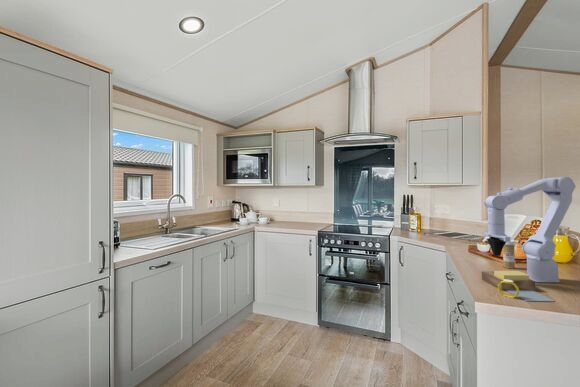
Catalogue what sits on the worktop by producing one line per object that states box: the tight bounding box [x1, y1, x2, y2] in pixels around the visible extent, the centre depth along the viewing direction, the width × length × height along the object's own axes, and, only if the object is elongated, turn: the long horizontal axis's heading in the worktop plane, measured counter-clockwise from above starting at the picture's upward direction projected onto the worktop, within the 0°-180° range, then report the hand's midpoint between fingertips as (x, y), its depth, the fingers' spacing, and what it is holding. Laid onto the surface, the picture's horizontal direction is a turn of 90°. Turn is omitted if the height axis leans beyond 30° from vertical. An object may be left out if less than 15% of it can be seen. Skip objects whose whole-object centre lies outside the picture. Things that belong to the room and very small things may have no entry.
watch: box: [497, 279, 519, 299], centre depth 101 cm, size 6×3×6 cm, turn 37°
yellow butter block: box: [494, 270, 529, 281], centre depth 110 cm, size 9×6×2 cm, turn 84°
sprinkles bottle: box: [502, 239, 516, 270], centre depth 135 cm, size 5×5×14 cm
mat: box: [505, 290, 556, 303], centre depth 101 cm, size 9×10×1 cm
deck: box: [481, 270, 537, 292], centre depth 113 cm, size 12×13×4 cm
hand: (496, 255), depth 119 cm, fingers closed
